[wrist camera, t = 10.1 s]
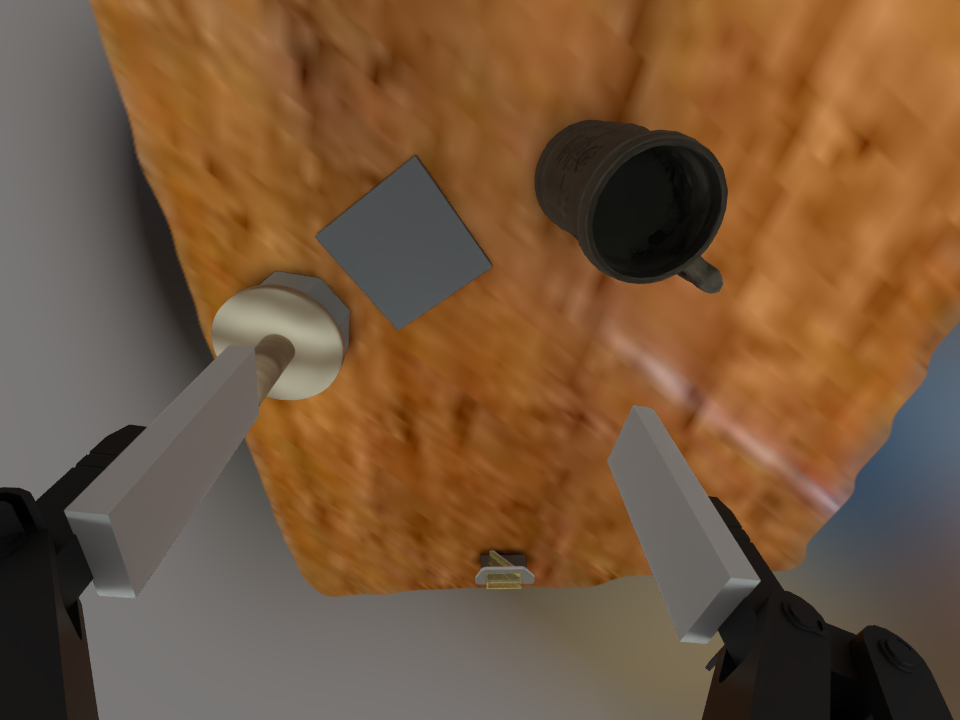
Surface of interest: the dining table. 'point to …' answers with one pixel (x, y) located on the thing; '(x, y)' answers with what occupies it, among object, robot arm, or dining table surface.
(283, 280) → the bowl
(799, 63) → the dining table surface
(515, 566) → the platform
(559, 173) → the beer stein
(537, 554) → the dining table surface
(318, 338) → the lid
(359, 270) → the mat
